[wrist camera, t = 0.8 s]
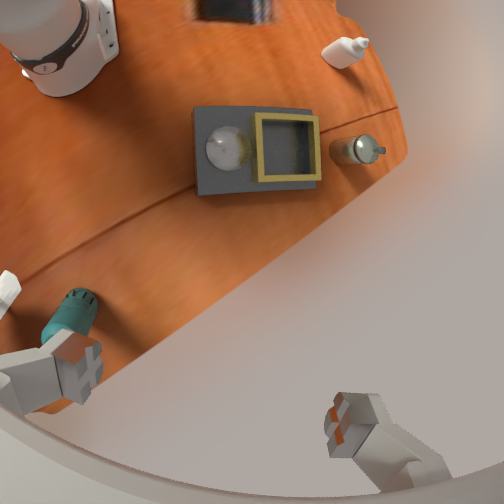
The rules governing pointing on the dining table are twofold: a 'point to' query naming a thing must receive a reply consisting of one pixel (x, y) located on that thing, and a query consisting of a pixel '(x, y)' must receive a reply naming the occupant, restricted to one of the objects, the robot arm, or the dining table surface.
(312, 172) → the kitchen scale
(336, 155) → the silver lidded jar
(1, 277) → the white angular piece
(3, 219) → the dining table surface
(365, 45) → the eye dropper bottle
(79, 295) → the beverage bottle
